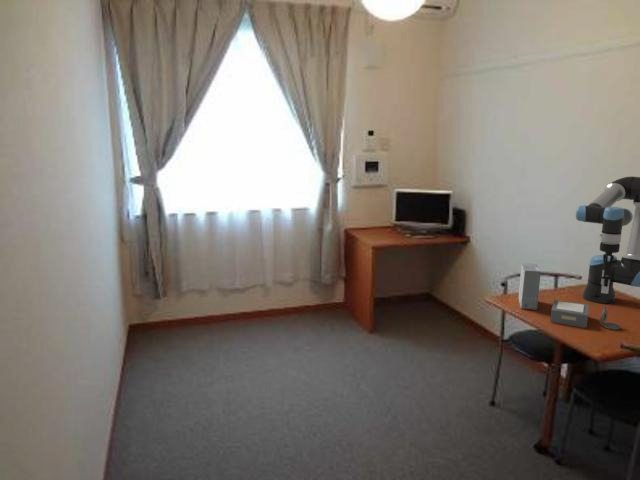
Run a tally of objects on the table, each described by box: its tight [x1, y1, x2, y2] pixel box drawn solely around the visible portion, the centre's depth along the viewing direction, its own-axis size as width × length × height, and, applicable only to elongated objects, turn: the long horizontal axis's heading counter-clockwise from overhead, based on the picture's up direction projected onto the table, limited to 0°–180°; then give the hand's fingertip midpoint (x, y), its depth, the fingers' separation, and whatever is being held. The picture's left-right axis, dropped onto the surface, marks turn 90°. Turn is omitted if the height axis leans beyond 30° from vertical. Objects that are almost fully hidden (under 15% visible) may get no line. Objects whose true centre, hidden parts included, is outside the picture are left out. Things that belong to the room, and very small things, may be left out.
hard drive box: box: [518, 262, 542, 311], centre depth 255 cm, size 16×8×20 cm, turn 164°
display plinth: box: [549, 299, 590, 329], centre depth 236 cm, size 15×15×6 cm
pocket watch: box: [599, 304, 621, 331], centre depth 227 cm, size 8×8×10 cm
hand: (604, 288), depth 226 cm, fingers open, 13 cm apart
